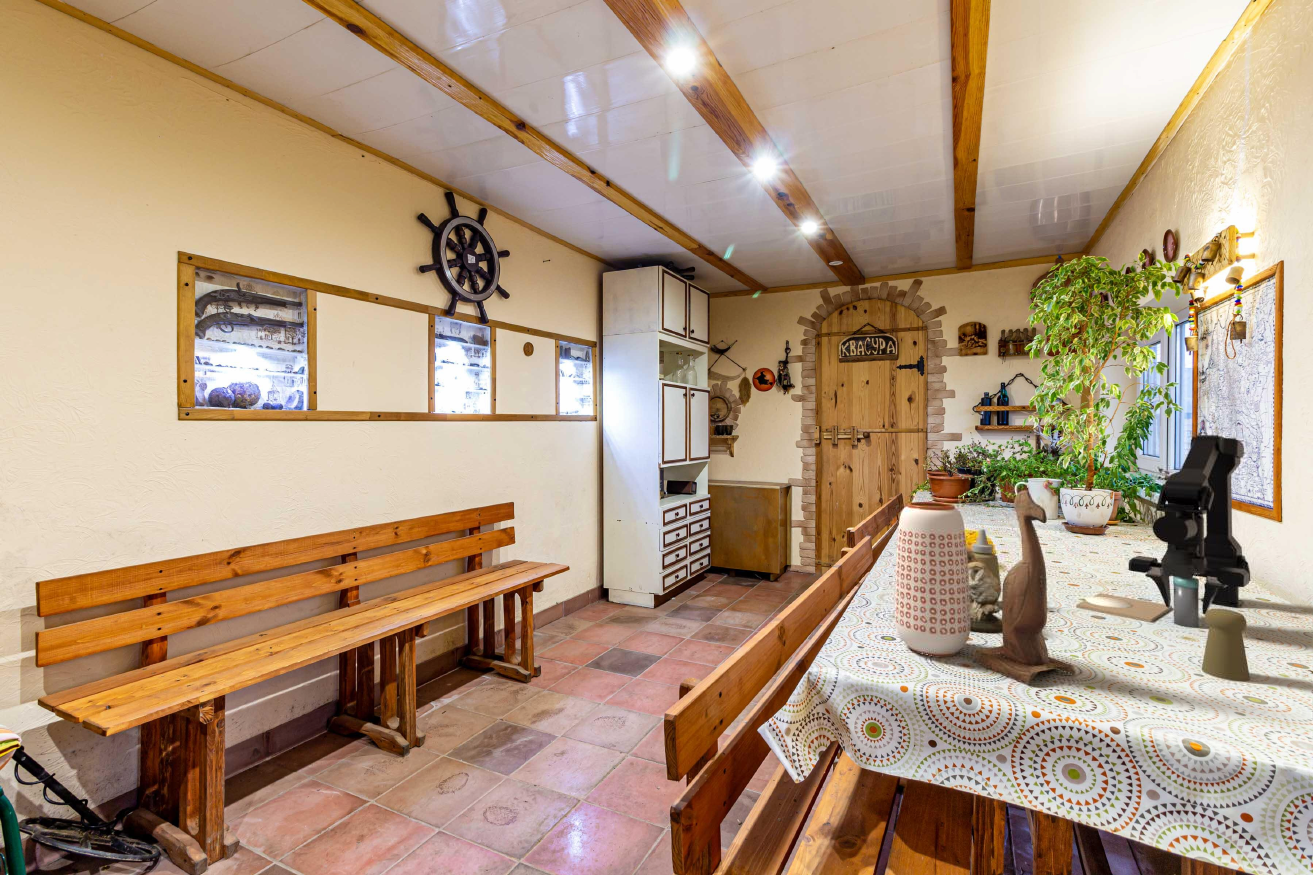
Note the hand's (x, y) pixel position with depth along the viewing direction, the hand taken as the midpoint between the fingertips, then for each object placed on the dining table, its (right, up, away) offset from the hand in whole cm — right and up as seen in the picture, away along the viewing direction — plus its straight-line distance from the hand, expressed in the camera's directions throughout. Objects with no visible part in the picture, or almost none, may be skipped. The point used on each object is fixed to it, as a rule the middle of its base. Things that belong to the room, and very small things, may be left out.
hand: (1186, 610), depth 127 cm
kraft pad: (-4, -3, +12) cm, 13 cm away
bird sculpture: (-49, -4, -23) cm, 54 cm away
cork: (-16, -4, -25) cm, 30 cm away
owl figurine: (-47, -4, +4) cm, 47 cm away
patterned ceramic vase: (-61, -4, -12) cm, 62 cm away
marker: (0, -3, 0) cm, 3 cm away
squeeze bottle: (-35, -4, +17) cm, 39 cm away
